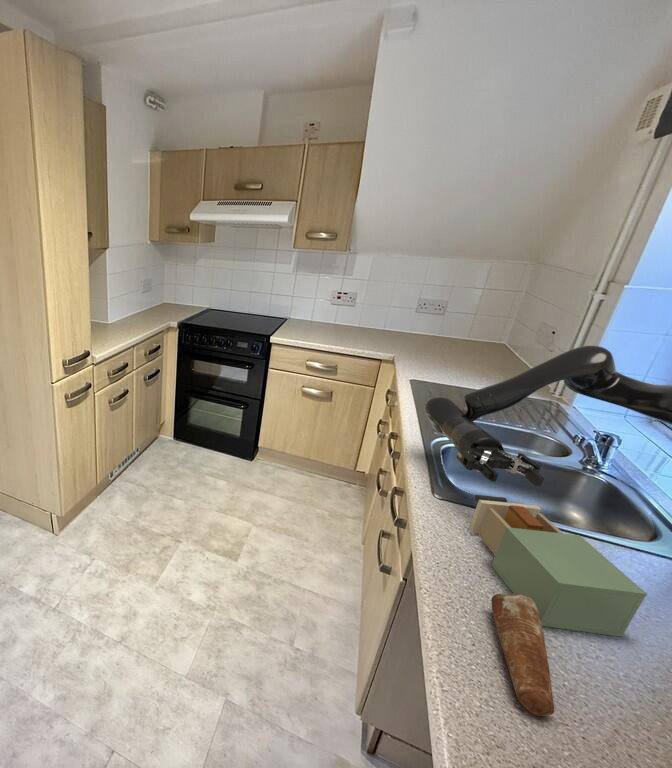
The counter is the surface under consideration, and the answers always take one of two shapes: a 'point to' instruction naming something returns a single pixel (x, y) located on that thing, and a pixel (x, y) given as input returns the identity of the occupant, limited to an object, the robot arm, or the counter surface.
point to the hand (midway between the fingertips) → (517, 480)
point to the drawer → (500, 519)
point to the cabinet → (567, 581)
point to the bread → (524, 650)
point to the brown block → (522, 519)
